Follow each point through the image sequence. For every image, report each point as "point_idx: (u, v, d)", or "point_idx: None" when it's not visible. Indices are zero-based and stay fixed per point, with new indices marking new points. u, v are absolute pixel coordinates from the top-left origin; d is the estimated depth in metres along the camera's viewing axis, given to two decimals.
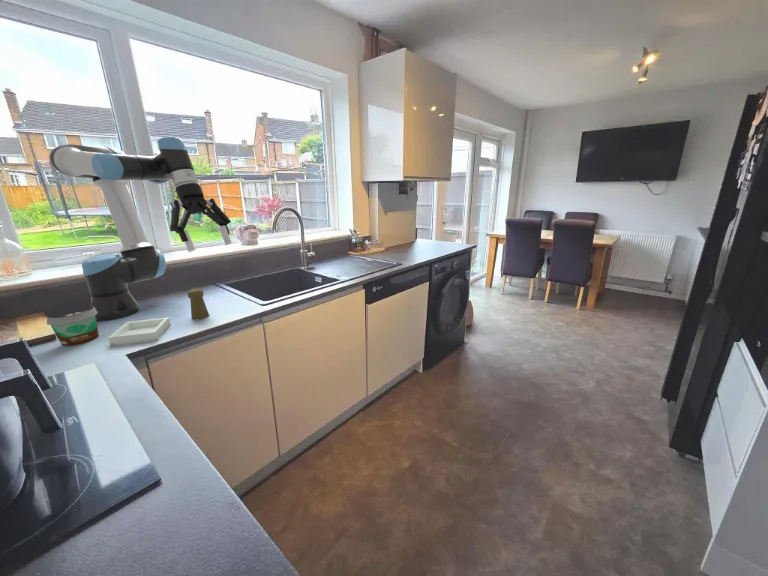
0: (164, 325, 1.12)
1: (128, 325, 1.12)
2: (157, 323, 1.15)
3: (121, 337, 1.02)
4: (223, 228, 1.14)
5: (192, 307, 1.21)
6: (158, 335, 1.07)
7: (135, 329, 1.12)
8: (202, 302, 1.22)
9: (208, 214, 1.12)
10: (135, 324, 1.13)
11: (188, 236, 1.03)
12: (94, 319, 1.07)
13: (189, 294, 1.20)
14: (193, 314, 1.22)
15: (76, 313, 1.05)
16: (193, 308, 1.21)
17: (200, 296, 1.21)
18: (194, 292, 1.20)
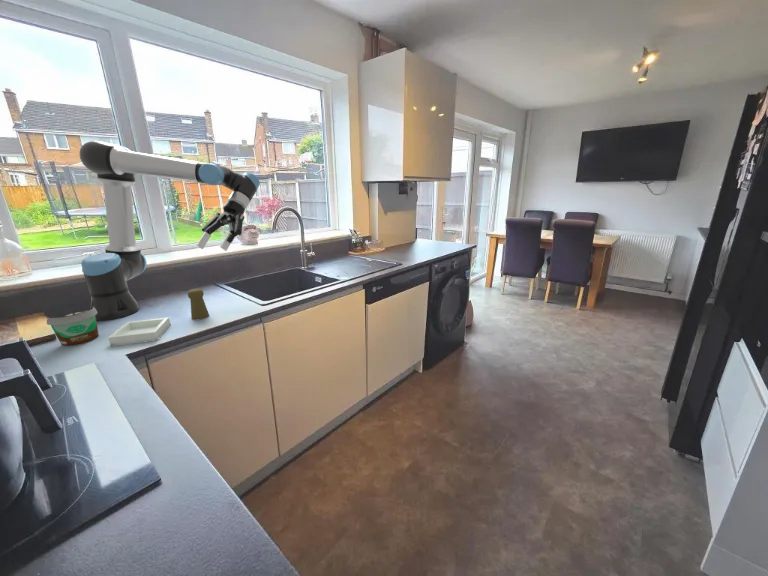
0: (164, 325, 1.12)
1: (128, 325, 1.12)
2: (157, 323, 1.15)
3: (121, 337, 1.02)
4: (208, 236, 1.31)
5: (192, 307, 1.21)
6: (158, 335, 1.07)
7: (135, 329, 1.12)
8: (202, 302, 1.22)
9: (219, 224, 1.31)
10: (135, 324, 1.13)
11: None
12: (94, 319, 1.07)
13: (189, 294, 1.20)
14: (193, 314, 1.22)
15: (76, 313, 1.05)
16: (193, 308, 1.21)
17: (200, 296, 1.21)
18: (194, 292, 1.20)
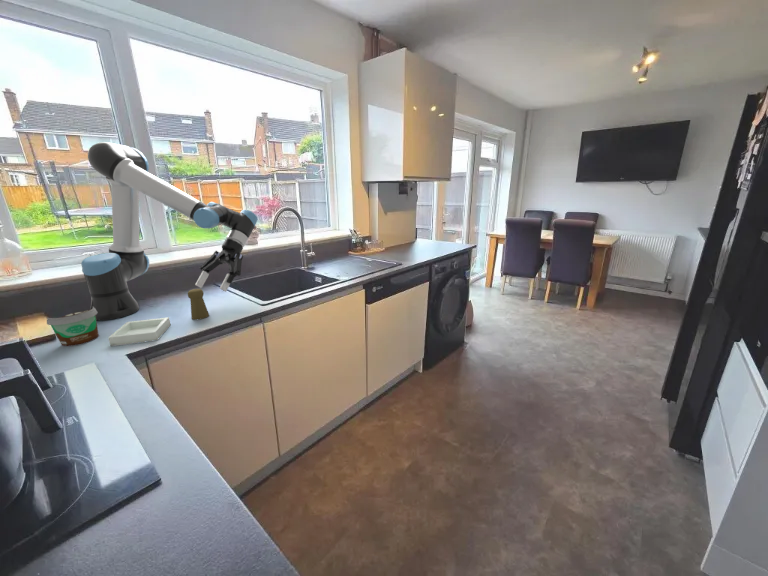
0: (164, 325, 1.12)
1: (128, 325, 1.12)
2: (157, 323, 1.15)
3: (121, 337, 1.02)
4: (207, 275, 1.31)
5: (192, 307, 1.21)
6: (158, 335, 1.07)
7: (135, 329, 1.12)
8: (202, 302, 1.22)
9: (217, 263, 1.32)
10: (135, 324, 1.13)
11: None
12: (94, 319, 1.07)
13: (189, 294, 1.20)
14: (193, 314, 1.22)
15: (76, 313, 1.05)
16: (193, 308, 1.21)
17: (200, 296, 1.21)
18: (194, 292, 1.20)
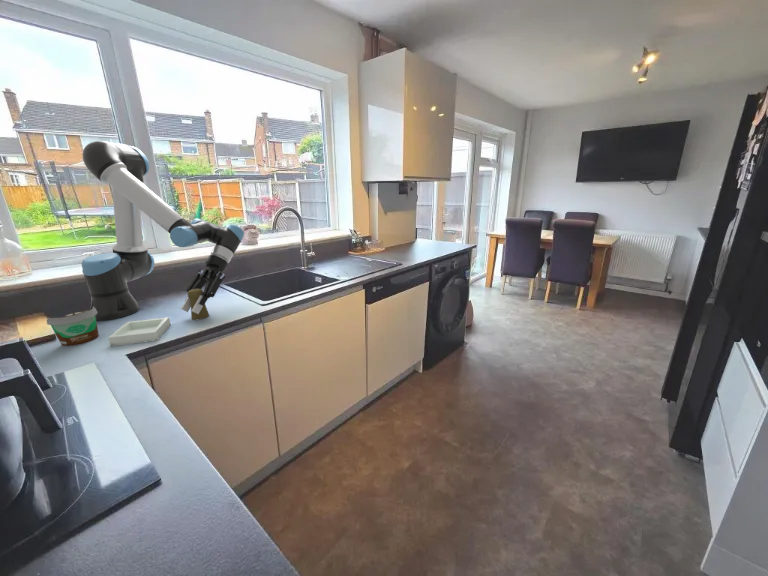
0: (164, 325, 1.12)
1: (128, 325, 1.12)
2: (157, 323, 1.15)
3: (121, 337, 1.02)
4: None
5: (192, 307, 1.21)
6: (158, 335, 1.07)
7: (135, 329, 1.12)
8: None
9: (203, 281, 1.26)
10: (135, 324, 1.13)
11: None
12: (94, 319, 1.07)
13: (189, 294, 1.20)
14: (193, 314, 1.22)
15: (76, 313, 1.05)
16: None
17: None
18: (194, 292, 1.20)
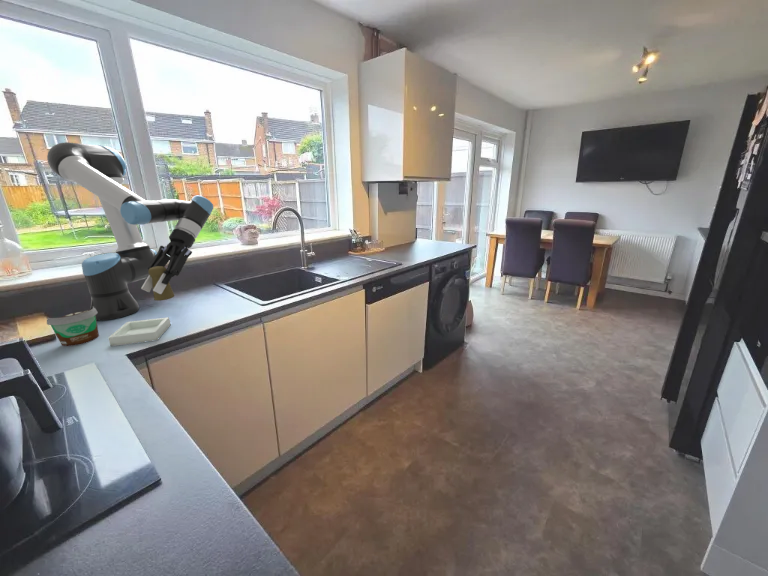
0: (164, 325, 1.12)
1: (128, 325, 1.12)
2: (157, 323, 1.15)
3: (121, 337, 1.02)
4: None
5: (154, 286, 1.08)
6: (158, 335, 1.07)
7: (135, 329, 1.12)
8: None
9: (166, 258, 1.13)
10: (135, 324, 1.13)
11: None
12: (94, 319, 1.07)
13: (150, 272, 1.07)
14: (156, 294, 1.09)
15: (76, 313, 1.05)
16: None
17: None
18: (156, 269, 1.07)
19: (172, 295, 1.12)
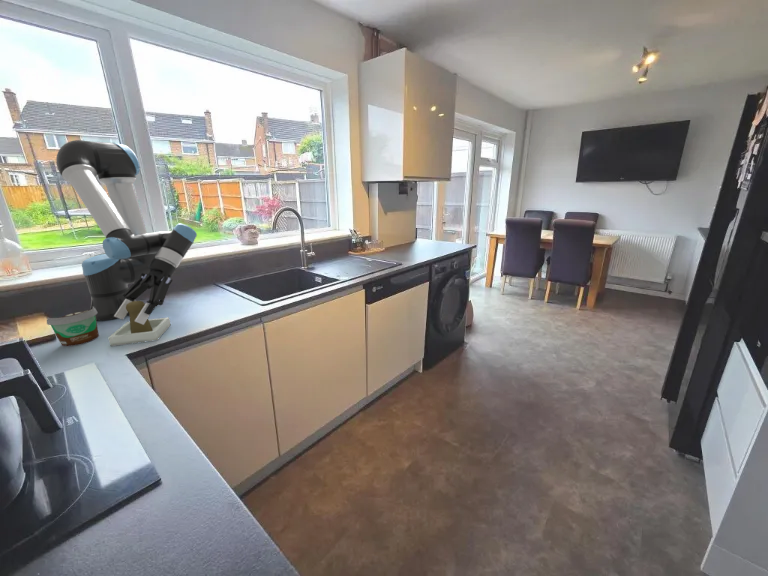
0: (164, 325, 1.12)
1: (128, 325, 1.12)
2: (157, 323, 1.15)
3: (121, 337, 1.02)
4: None
5: (131, 322, 1.06)
6: (158, 335, 1.07)
7: None
8: None
9: (143, 287, 1.11)
10: None
11: None
12: (94, 319, 1.07)
13: (127, 307, 1.05)
14: (132, 330, 1.07)
15: (76, 313, 1.05)
16: (132, 323, 1.06)
17: (140, 310, 1.06)
18: (133, 305, 1.05)
19: (150, 330, 1.09)
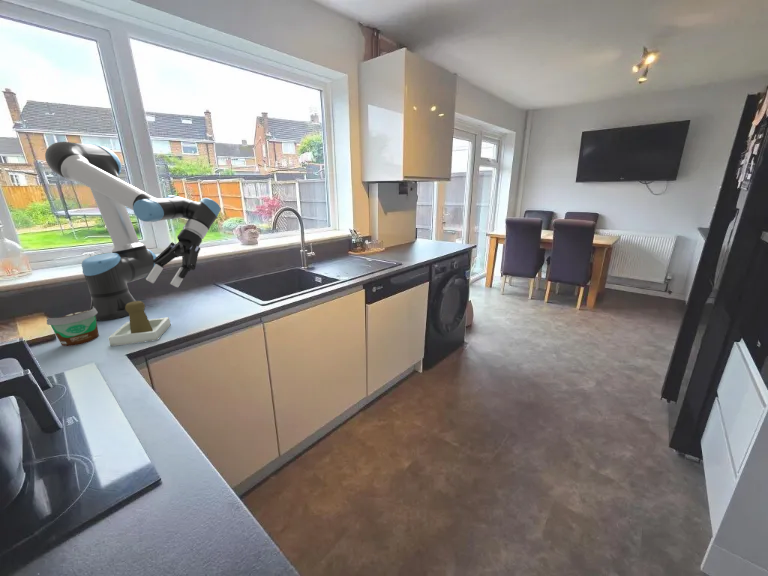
0: (164, 325, 1.12)
1: (128, 325, 1.12)
2: (157, 323, 1.15)
3: (121, 337, 1.02)
4: (160, 269, 1.19)
5: (131, 322, 1.06)
6: (158, 335, 1.07)
7: None
8: (143, 316, 1.07)
9: (172, 256, 1.19)
10: None
11: None
12: (94, 319, 1.07)
13: (126, 308, 1.05)
14: (132, 330, 1.07)
15: (76, 313, 1.05)
16: (132, 323, 1.06)
17: (140, 310, 1.06)
18: (132, 305, 1.05)
19: (150, 330, 1.09)
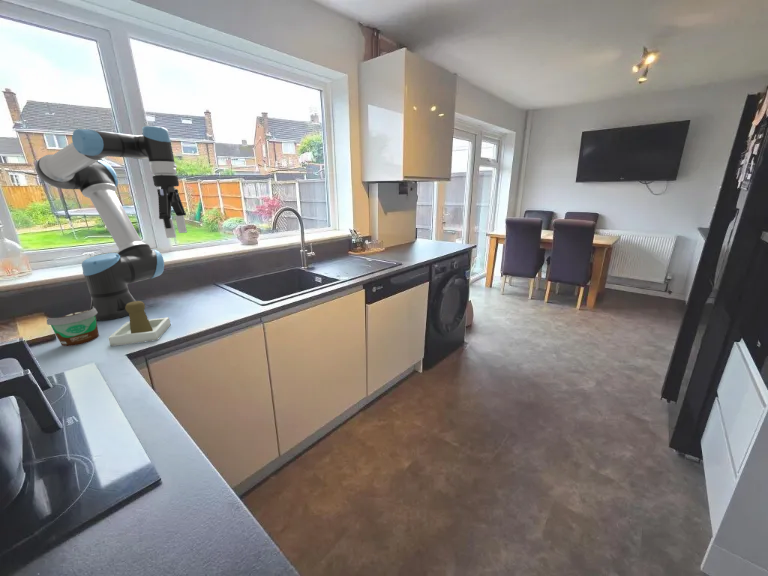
0: (164, 325, 1.12)
1: (128, 325, 1.12)
2: (157, 323, 1.15)
3: (121, 337, 1.02)
4: (182, 218, 1.25)
5: (131, 322, 1.06)
6: (158, 335, 1.07)
7: None
8: (143, 316, 1.08)
9: (174, 203, 1.21)
10: None
11: (172, 224, 1.13)
12: (94, 319, 1.07)
13: (126, 308, 1.05)
14: (132, 330, 1.07)
15: (76, 313, 1.05)
16: (132, 323, 1.06)
17: (140, 310, 1.06)
18: (132, 305, 1.05)
19: (150, 330, 1.09)
